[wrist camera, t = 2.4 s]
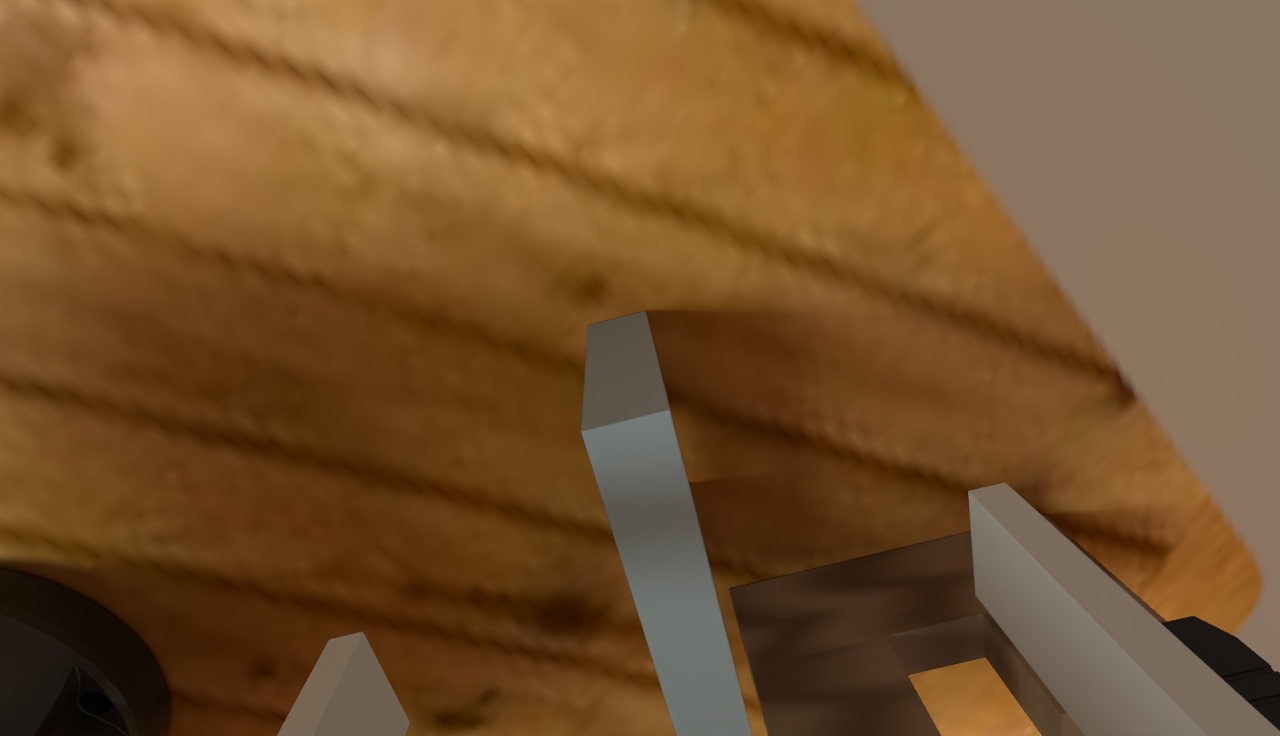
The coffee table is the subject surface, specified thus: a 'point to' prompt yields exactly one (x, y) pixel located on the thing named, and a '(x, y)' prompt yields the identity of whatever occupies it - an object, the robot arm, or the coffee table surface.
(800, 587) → the base plank
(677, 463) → the cross plank
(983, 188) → the coffee table surface
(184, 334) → the coffee table surface
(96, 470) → the coffee table surface
